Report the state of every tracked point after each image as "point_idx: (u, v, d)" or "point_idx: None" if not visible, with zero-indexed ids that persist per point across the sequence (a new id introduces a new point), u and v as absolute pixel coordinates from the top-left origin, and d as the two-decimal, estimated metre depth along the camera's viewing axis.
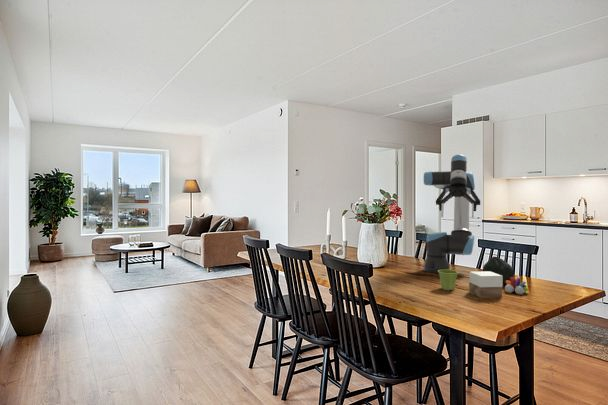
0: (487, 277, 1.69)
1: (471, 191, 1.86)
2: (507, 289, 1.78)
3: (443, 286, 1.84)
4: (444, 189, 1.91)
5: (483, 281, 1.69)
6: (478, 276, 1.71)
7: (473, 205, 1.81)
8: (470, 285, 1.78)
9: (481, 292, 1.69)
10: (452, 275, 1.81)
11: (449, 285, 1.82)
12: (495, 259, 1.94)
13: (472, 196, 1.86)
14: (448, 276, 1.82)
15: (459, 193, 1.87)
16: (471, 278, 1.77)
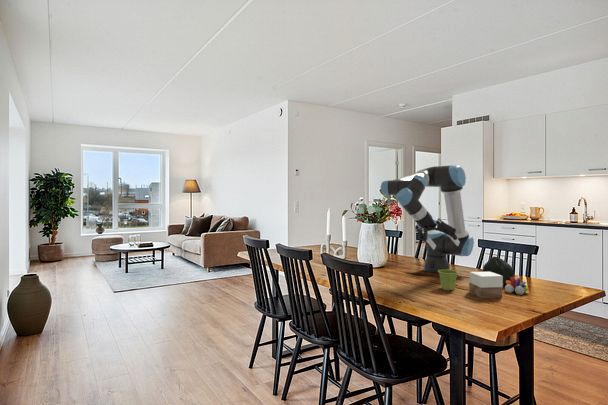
0: (487, 277, 1.69)
1: (440, 226, 1.77)
2: (507, 289, 1.78)
3: (443, 286, 1.84)
4: (417, 228, 1.86)
5: (483, 281, 1.69)
6: (478, 276, 1.71)
7: (451, 238, 1.78)
8: (470, 285, 1.78)
9: (481, 292, 1.69)
10: (452, 275, 1.81)
11: (449, 285, 1.82)
12: (495, 259, 1.94)
13: None
14: (448, 276, 1.82)
15: (432, 229, 1.81)
16: (471, 278, 1.77)
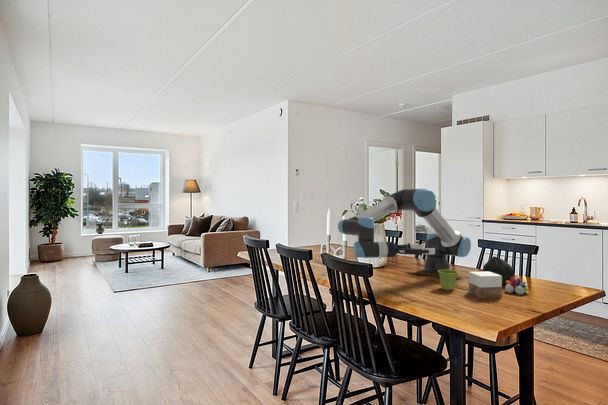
0: (486, 277, 1.69)
1: (405, 253, 1.77)
2: (507, 289, 1.78)
3: (443, 286, 1.84)
4: None
5: (482, 281, 1.69)
6: (477, 276, 1.71)
7: None
8: (470, 285, 1.78)
9: (481, 292, 1.69)
10: (452, 275, 1.81)
11: (449, 285, 1.82)
12: (495, 259, 1.94)
13: (409, 249, 1.77)
14: (448, 276, 1.82)
15: None
16: (470, 278, 1.77)
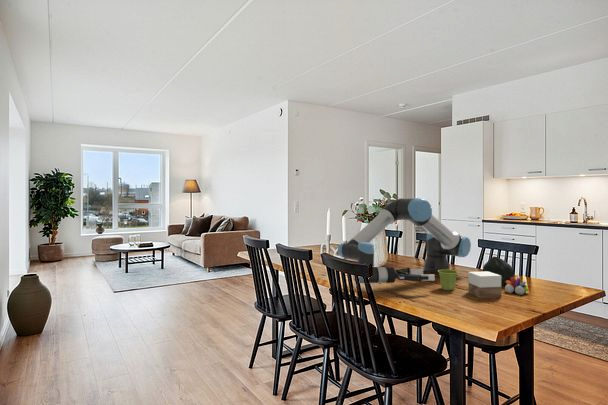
0: (486, 277, 1.69)
1: None
2: (507, 289, 1.78)
3: (443, 286, 1.84)
4: None
5: (482, 281, 1.69)
6: (477, 276, 1.71)
7: (423, 280, 1.77)
8: (469, 285, 1.78)
9: (480, 292, 1.69)
10: (452, 275, 1.81)
11: (449, 285, 1.82)
12: (495, 259, 1.94)
13: (408, 275, 1.77)
14: (448, 276, 1.82)
15: None
16: (470, 278, 1.77)
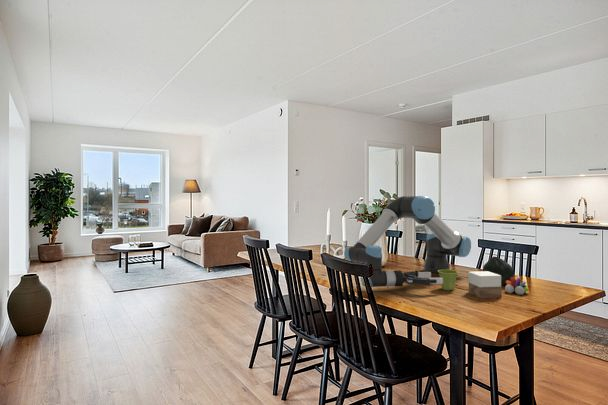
0: (486, 277, 1.70)
1: (413, 283, 1.78)
2: (507, 289, 1.77)
3: (443, 286, 1.84)
4: None
5: (482, 281, 1.70)
6: (477, 276, 1.72)
7: None
8: (470, 285, 1.78)
9: (481, 292, 1.69)
10: (452, 275, 1.81)
11: (449, 285, 1.82)
12: (495, 259, 1.94)
13: (416, 278, 1.77)
14: (448, 276, 1.82)
15: None
16: (470, 278, 1.78)
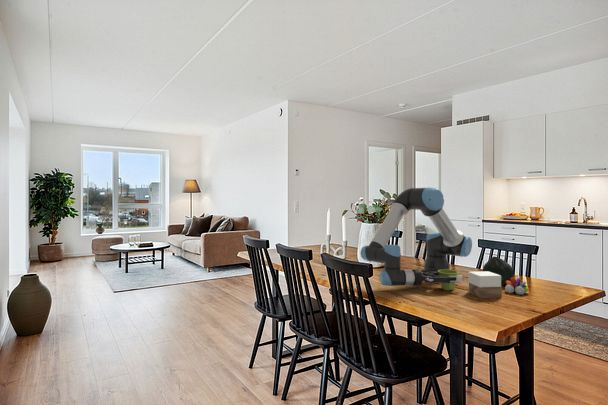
0: (486, 277, 1.70)
1: None
2: (507, 289, 1.77)
3: (443, 286, 1.84)
4: None
5: (481, 281, 1.70)
6: (477, 276, 1.72)
7: (451, 281, 1.81)
8: (470, 285, 1.78)
9: (481, 292, 1.69)
10: (452, 275, 1.81)
11: (449, 285, 1.82)
12: (495, 259, 1.94)
13: (436, 277, 1.79)
14: None
15: None
16: (470, 278, 1.78)
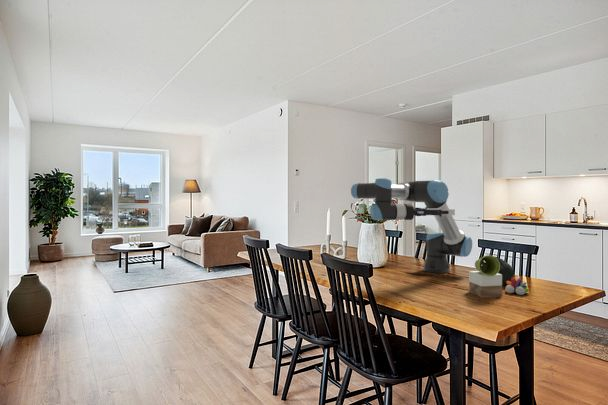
0: (488, 276, 1.71)
1: (424, 214, 1.73)
2: (508, 290, 1.77)
3: (476, 268, 1.78)
4: None
5: (483, 280, 1.71)
6: (479, 275, 1.73)
7: (443, 215, 1.72)
8: (470, 285, 1.79)
9: (482, 292, 1.70)
10: None
11: None
12: None
13: (428, 210, 1.72)
14: None
15: None
16: (471, 277, 1.79)
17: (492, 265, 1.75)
